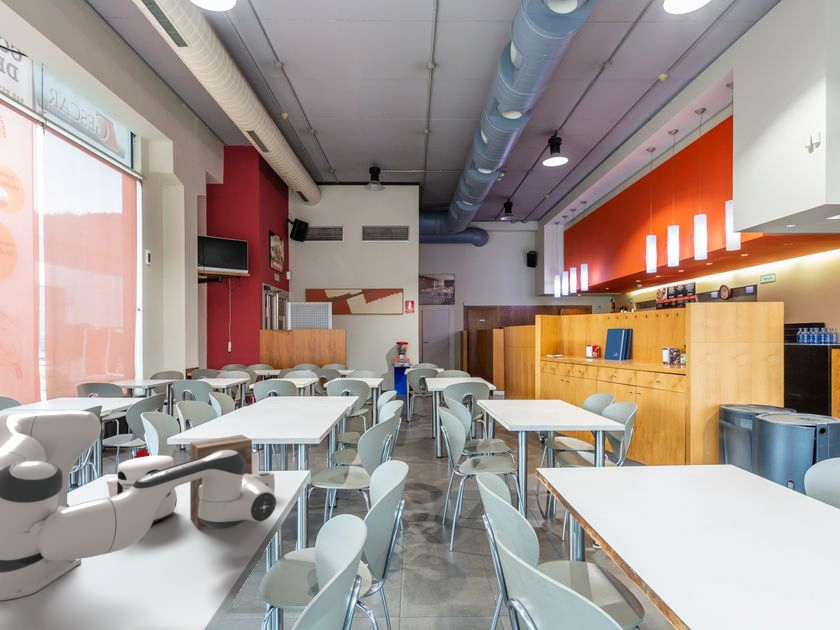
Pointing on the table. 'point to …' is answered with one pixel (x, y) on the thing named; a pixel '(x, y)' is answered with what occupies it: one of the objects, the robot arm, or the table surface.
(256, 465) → the white hollow cylinder
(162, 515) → the milk container
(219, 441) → the box
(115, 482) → the smoothie
